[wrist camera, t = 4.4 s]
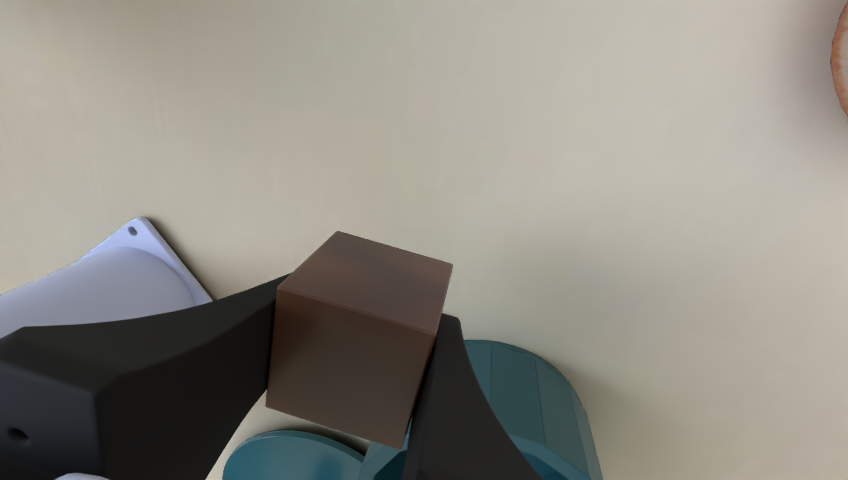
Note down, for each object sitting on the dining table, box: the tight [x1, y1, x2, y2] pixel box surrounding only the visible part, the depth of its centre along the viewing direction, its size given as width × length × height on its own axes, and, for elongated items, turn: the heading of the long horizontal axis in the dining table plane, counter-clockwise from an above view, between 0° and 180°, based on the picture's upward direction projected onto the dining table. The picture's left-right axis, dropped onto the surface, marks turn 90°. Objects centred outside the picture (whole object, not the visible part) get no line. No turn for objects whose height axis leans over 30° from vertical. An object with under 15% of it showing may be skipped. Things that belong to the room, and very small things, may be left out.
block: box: [266, 231, 453, 450], centre depth 12 cm, size 4×4×4 cm
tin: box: [358, 340, 603, 480], centre depth 21 cm, size 11×11×6 cm
